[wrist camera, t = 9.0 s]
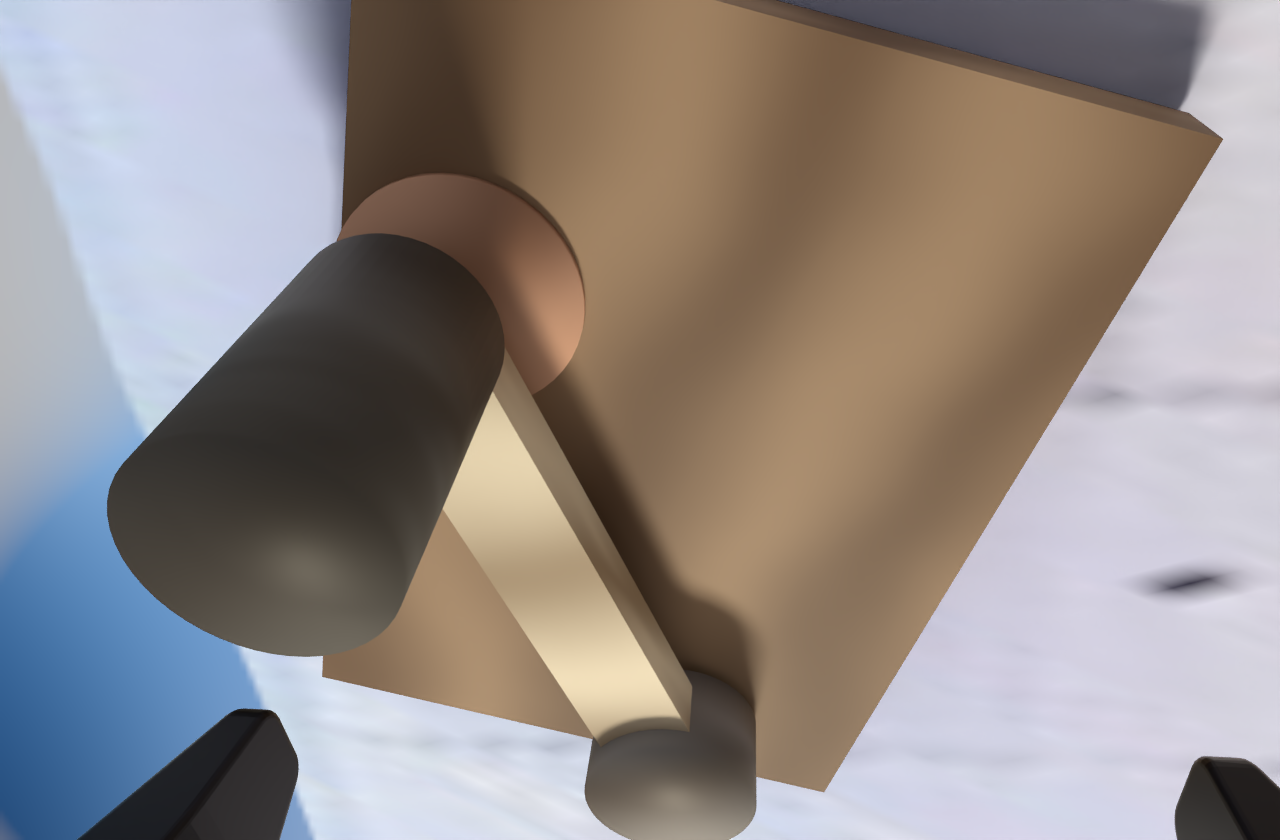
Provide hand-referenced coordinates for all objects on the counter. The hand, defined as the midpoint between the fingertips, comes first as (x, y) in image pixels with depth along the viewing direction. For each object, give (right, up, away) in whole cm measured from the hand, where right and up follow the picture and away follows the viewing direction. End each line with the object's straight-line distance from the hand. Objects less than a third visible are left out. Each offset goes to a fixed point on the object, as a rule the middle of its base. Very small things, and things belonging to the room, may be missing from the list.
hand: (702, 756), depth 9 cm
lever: (-2, 0, +13) cm, 13 cm away
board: (0, +3, +13) cm, 13 cm away
